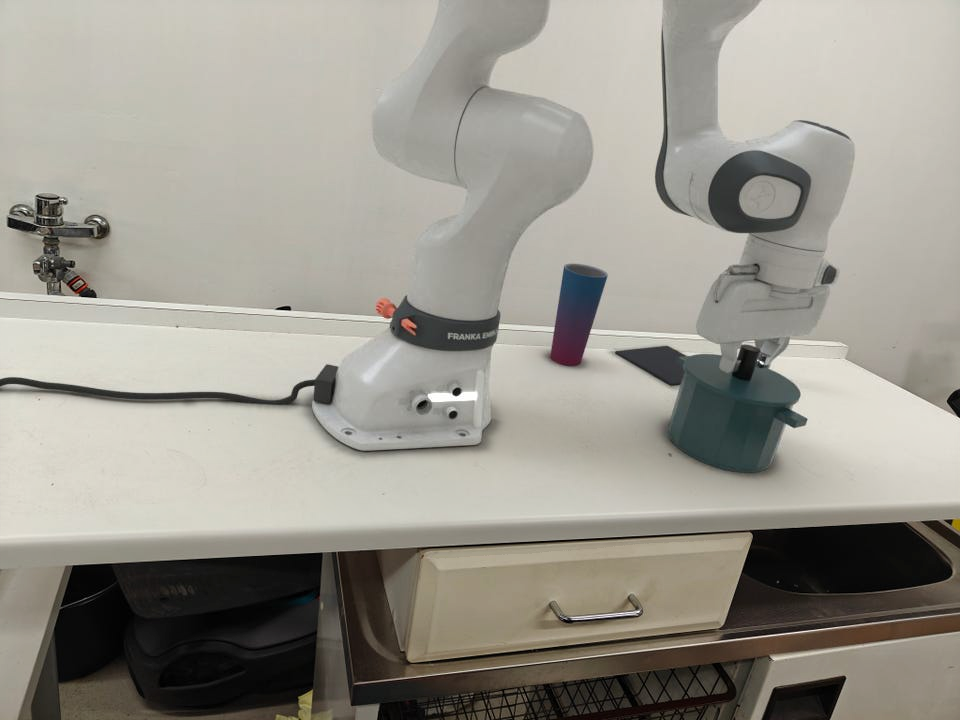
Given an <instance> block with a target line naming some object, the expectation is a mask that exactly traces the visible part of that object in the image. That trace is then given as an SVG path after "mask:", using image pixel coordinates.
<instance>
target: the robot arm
mask: <svg viewBox="0 0 960 720" xmlns="http://www.w3.org/2000/svg"><path fill="white" fill-rule="evenodd" d="M762 1H763V0H662V13H661V14H662V15H661V35H660V54H661V55H660V59H661V83H662V84H661V87H662V113H663V115H662V116H663V131H662V132H663V133H662V141H661V146H660V150H659V153H658V157H657V160H656V166H655V173H654V184H655V188H656V191H657V194H658V197H659V198H660V200H661V202H662V203H663V204H664V206H666V208H668V209H670V210H671V211H673V212H675V213H676V214H681V215H684V216H688V217H691V218H693V219H697V220H698V221H700V222H703V223H704V224H707V225H710V226H712V227H714V228H717V229H719V230H721V231H724V232H727V233H733V234H747V237H746V240H745V244H744V247H743V250H742V252H741V257H740V260H739V263H738V264H731V265H728V267H727V268H726V269H725V270H724V271H723V272H722V273H720V274H719V275H718V277H717V278H716V279H715V280H714V281H713V283H712V285H711V286H710V288H709V290H708V292H707V295H706V297H705V299H704V301H703V304H702V307H701V308H700V312H699V315H698V317H697V320H696V324H695V329H696V333H697V335H698V336H700V337H701V338H703V339H705V340H707V341H709V342H711V343H713V344H716V345H719V346H720V353H721V354H720V355H722V358H721V361H720V365H719V368H720V370H722V371H724V372H726V373H733V372H736V371H738V366H739V365H740V362H741V360H739V359H737V357H738V350H740V348H741V345H743V342H752V341H753V342H754V340H763V339H766V340H765V342H764V344H763V345H762V347H761V349H760V350H761V352H760V354H759V357H758V360H757V363H756V366H757V367H758V368H767V367H769V368H770V367H771V365H772V363H773V361H772V359H773V356H775V354H776V353H777V352H778V351H779V349H780V348H781V347H782V346H783V344H784V342H785V339H786V337H800V336H808V335H810V334H811V333H812V332H813V331H814V330H815V329H816V327H817V326H818V324H819V322H820V320H821V318H822V316H823V313H824V310H825V308H826V305H827V302H828V300H829V296H830V294H831V288H830V286H833V285H835V284H836V283H837V281H838V280H839V277H840V275H841V274H840V272H841V270H840V269H839V267H837V266H836V265H834V264H833V263H831V262H830V261H828V260H827V259H826V258H824V256H825V254H826V250H827V248H828V238H829V237H828V236H829V232H830V229H831V226H832V225H833V223H834V221H835V220H836V219H837V217H838V216H839V214H840V211H841V209H842V206H843V204H844V200H845V197H846V194H847V193H848V189H849V184H850V182H851V178H852V174H853V170H854V165H855V157H856V156H855V155H856V148H855V143H854V141H853V140H852V138H850V136H848V134H846V133H844V132H842V131H841V130H839V129H835V128H834V127H831V126H828V125H823V124H820V123H819V122H815V121H810V120H804V119H798V120H797V119H796V120H792V121H791V122H790V123H788V125H786V126H785V127H784V128H782V129H780V130H777V131H775V132H773V133H770V134H767V135H765V136H761V137H758V138H754V139H748V140H745V142H742V141H736V140H731V139H729V138H728V137H727V136H726V135H725V134H724V132H723V131H722V129H721V127H720V124H719V57H720V53H721V49H722V47H723V45H724V42H725V40H726V39H727V37H728V35H729V34H730V33H731V32H732V30H733V29H734V28H735V27H736V26H737V25H738V24H739V23H741V22H742V21H743V20H744V19H746V18H747V17H748V16H749V15H750V14H751V13H752V12H753V11H754V10H755V9H756V8H757V7H758V6H759V5H760V3H761V2H762ZM551 2H552V0H438V5H437V9H436V14H435V18H434V20H433V24H432V27H431V29H430V32H429V35H428V37H427V38H426V41H425V43H424V45H423V47H422V49H421V50H420V52H419V53H418V55H417V56H416V58H415V59H414V60H413V62H412V63H411V64H410V65H409V67H407V68H406V70H404V71H403V72H402V73H400V74H399V75H398V76H396V77H395V78H393V79H392V80H391V81H389V82H388V83H387V84H386V85H385V86H384V87H383V89H382V90H381V91H380V93H379V94H378V96H377V98H376V100H375V102H374V105H373V107H372V111H371V119H370V129H371V136H372V140H373V143H374V146H375V149H376V151H377V153H378V155H379V156H380V157H381V158H382V159H383V160H384V161H386V162H388V163H390V164H392V165H393V166H395V167H397V168H399V169H400V170H403V171H404V172H407V173H409V174H411V175H413V176H416V177H418V178H423V179H426V180H431V181H435V182H438V183H441V184H447V185H450V186H455V187H458V188H462V189H463V188H464V189H465V190H466V195H465V200H464V204H463V206H462V208H461V210H460V212H459V213H458V214H455V215H451V216H447V217H444V218H442V219H439V220H436V221H434V222H432V223H430V224H428V225H427V226H425V227H424V228H423V229H422V230H421V231H420V232H419V233H418V235H417V237H416V239H415V241H414V243H413V249H412V256H411V263H410V272H409V280H408V288H407V294H406V295H405V296H404V297H403V298H402V300H401V302H400V304H399V305H398V306H396V304H394V303H393V302H391V301H390V299H388V298H385V297H382V298H380V299H379V300H378V301H377V302H376V303H375V304H376V305H375V306H374V307H375V311H376V312H377V314H379V315H381V316H382V317H383V318H384V319H386V320H389V319H391V321H390V323H389V327H387V328H385V329H384V330H382V331H381V332H380V333H378V334H377V335H375V337H373V338H371V339H370V340H368V341H367V342H365V343H364V344H363V345H361V346H359V347H358V348H356V349H355V350H353V351H352V352H350V353H349V354H346V355H345V356H344V357H343V358H342V360H341V361H340V363H339V365H333V364H327V363H326V364H325V365H324V367H323V368H322V369H321V371H320V372H319V373H318V375H317V376H316V377H315V378H314V379H306V380H303V381H300V382H298V383H296V384H295V385H294V386H293V388H292V390H291V393H290V395H289V396H286V397H285V398H280V399H262V398H256V397H252V396H247V395H242V394H237V393H233V392H224V391H183V392H182V391H180V392H179V391H178V392H133V391H131V392H129V391H119V390H112V389H111V390H110V389H102V388H97V387H91V386H83V385H77V384H70V383H62V382H61V383H59V382H48V381H41V380H37V379H31V378H26V377H18V376H9V377H2V378H0V387H2V386H7V385H19V386H27V387H32V388H36V389H43V390H51V391H52V390H53V391H61V392H62V391H63V392H69V393H70V392H72V393H78V394H85V395H92V396H98V397H104V398H113V399H121V400H123V399H124V400H140V401H141V400H142V401H144V400H146V401H162V400H163V401H164V400H190V399H191V400H193V399H219V400H229V401H236V402H240V403H247V404H255V405H256V404H257V405H267V406H269V405H270V406H271V405H272V406H285V405H288V404H291V403H293V402H295V400H297V398H298V396H299V393H300V391H301V390H302V389H305V388H308V387H313V397H312V403H311V409H312V411H313V414H314V416H315V418H316V420H317V421H318V422H319V424H320V425H321V426H322V427H323V428H324V430H325V431H326V432H328V433H329V434H330V436H332V437H333V438H335V439H336V440H337V441H339V442H340V443H342V444H344V445H346V446H348V447H350V448H352V449H355V450H358V451H364V452H365V451H366V452H367V451H385V450H387V451H388V450H405V449H406V450H407V449H422V448H423V449H424V448H443V447H461V446H463V447H464V446H475V445H479V444H481V442H482V438H483V437H482V435H483V431H484V430H485V429H486V428H487V427H488V425H489V424H490V423H491V421H492V409H491V402H490V401H491V400H490V375H491V360H492V352H493V346H494V345H495V343H496V342H497V339H498V333H499V330H500V329H499V328H500V321H501V311H500V310H499V306H500V303H501V302H500V301H501V296H502V291H503V287H504V284H505V279H506V275H507V271H508V268H509V264H510V260H511V258H512V255H513V252H514V250H515V248H516V246H517V244H518V242H519V241H520V240H521V237H522V236H523V234H524V233H525V232H526V231H527V229H528V228H529V227H530V226H531V225H532V224H533V223H534V222H535V221H536V220H537V219H538V218H539V217H541V216H542V215H543V214H545V213H547V212H548V211H549V210H551V209H554V208H555V207H557V206H559V205H562V204H564V203H565V202H567V201H568V200H569V199H571V198H572V197H574V196H575V194H577V193H578V192H579V190H580V189H582V186H583V185H584V184H585V182H586V181H587V179H588V177H589V175H590V172H591V168H592V165H593V160H594V139H593V135H592V132H591V129H590V126H589V124H588V122H587V120H586V119H585V117H584V116H583V114H581V113H579V112H577V111H575V110H573V109H571V108H569V107H567V106H565V105H562V104H559V103H557V102H554V101H553V100H550V99H547V98H545V97H541V96H537V95H531V94H525V93H520V92H515V91H510V90H504V89H499V88H494V87H491V86H490V80H491V76H492V73H493V70H494V68H495V66H496V64H497V62H498V61H499V59H500V58H501V57H503V56H505V55H508V54H511V53H513V52H515V51H518V50H520V49H522V48H524V47H526V46H528V45H530V44H531V43H533V42H534V41H535V40H536V39H537V38H539V36H540V35H541V34H542V32H543V31H544V29H545V27H546V25H547V22H548V20H549V14H550V7H551Z"/></svg>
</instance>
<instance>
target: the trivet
mask: <svg viewBox="0 0 960 720" xmlns="http://www.w3.org/2000/svg"><path fill="white" fill-rule="evenodd" d="M614 353H615V354H616V355H618V356H619V357H621V358H622V359H624V360H626V361H628V362H630V363H632V364H634V366H636V367H638V368H640V369H641V370H643V371H645V372H647V373H649V374H650V375H652V376H654V377H655V378H657V379H659V380H661V381H662V382H664V383H666V384H668V385H669V386H671V387H672V386H678V385H681V382H682V378H683V375H684V372H685V371H684V368H683V367H681V366H679V365H678V364H676V361H677V358H678V357H684V356H687V355H686V354H684V353H682V352H680V351H679V350H676V349H675V348H672V347H670V346H669V345H662V346H651V347H650V346H649V347H641V348H631V349H622V350H615V352H614Z"/></svg>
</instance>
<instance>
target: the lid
mask: <svg viewBox="0 0 960 720" xmlns="http://www.w3.org/2000/svg"><path fill="white" fill-rule="evenodd" d="M760 352H761V350H760V349H759V348H757V347H756V346H755V345H751V344H745V343H744V344H742V345H741V348H740V349H739V351H738V353H737V359H739V360H741V362H740V365H739V366H738V371H736V372H733V373H726V372H724V371H722V370H720V368H719V365H720V361H721V358H722V354H716V353H715V354H714V353H697V354H691V355H688V356H689V357H687V358H686V359H685V361H684V364H683V368H684V371H685V372H686V374H687V375H688V376H689V377H690V378H691V379H692V380H694V381H695V382H697V383H698V384H700V385H702V386H703V387H705V388H707V389H709V390H711V391H713V392H715V393H718V394H720V395H723V396H726V397H728V398H731V399H735V400H738V401H741V402H745V403H750V404H754V405H760V406H768V407H786V406H791V405H793V406H794V405H796V404H797V403H799V400H800V399H801V396H802V395H801V394H802V393H801V390H800V388H799V387H798V386H797V385H796V384H795V383H794V382H793V381H792V380H790V379H789V378H787V377H786V376H785V375H783V374H781V373H779V372H777V371H775V370H773V369H771V368H769V369H768V368H758V367H757V366H756V363H757V360H758V357H759V354H760Z"/></svg>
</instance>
